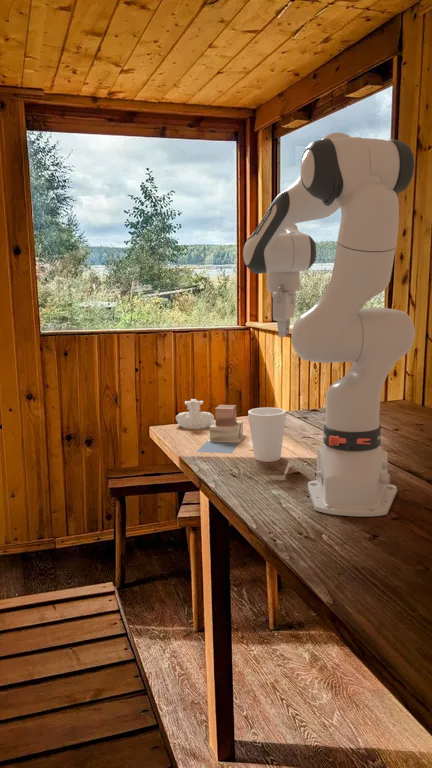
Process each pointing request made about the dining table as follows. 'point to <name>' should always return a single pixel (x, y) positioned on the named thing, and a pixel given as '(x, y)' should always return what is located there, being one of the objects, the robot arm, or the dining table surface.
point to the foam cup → (267, 432)
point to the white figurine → (194, 416)
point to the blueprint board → (220, 446)
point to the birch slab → (226, 432)
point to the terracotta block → (225, 415)
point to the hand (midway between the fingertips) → (284, 335)
